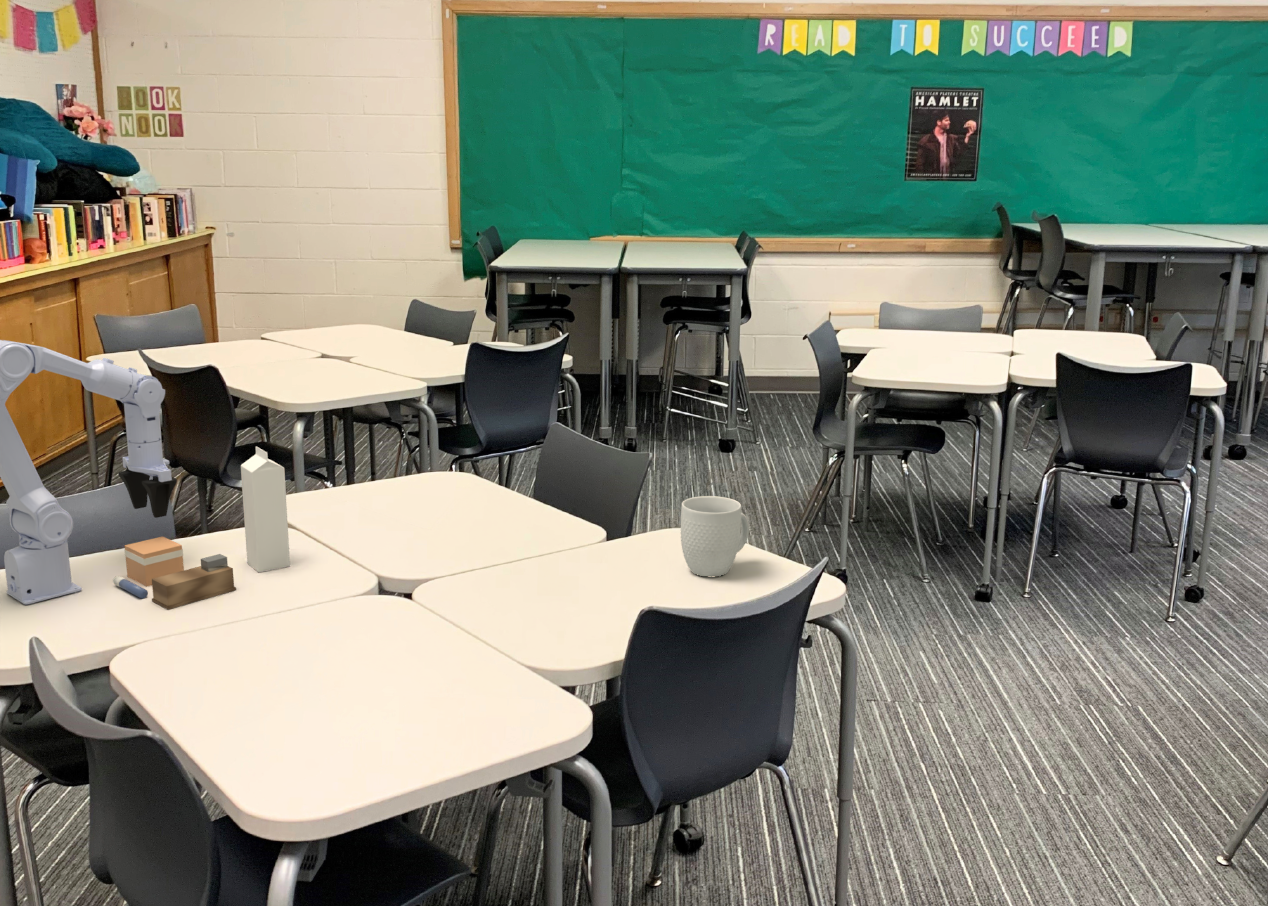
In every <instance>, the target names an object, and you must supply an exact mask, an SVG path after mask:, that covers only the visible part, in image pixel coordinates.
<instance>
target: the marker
mask: <svg viewBox="0 0 1268 906" xmlns="http://www.w3.org/2000/svg"><path fill="white" fill-rule="evenodd" d="M112 580H113V581H112V582H113V584H114V585H115V586H117V587H119V588H121V589H123V590H125V591H126V592H128V593H130V594H132V595H134V596H136V597H138V598H140V599H141V600H142V599H145V598H147V597H148V594H149V591H148V590H147V589H145V588H144V587H142V586H140V585H137V584H136V583H134V582H132V581H130V580H129V579H127V578H125V577H124V576H121V575H117V576H115V577H114V578H113V579H112Z"/></svg>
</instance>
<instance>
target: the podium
mask: <svg viewBox="0 0 1268 906" xmlns="http://www.w3.org/2000/svg"><path fill="white" fill-rule="evenodd" d="M151 586H152V597H153V598H151V602H152V603H155V604H156V605H158V606H160V607H162V608H164V609H165V610H168V611H169V610H172V609H175V608H179V607H182V606H186V605H190V604H192V603H196V602H199V601H203V600H206V599H210V598H213V597H216V596H220V595H223V594H228V593H231V592H234V591H236V590H237V587H236V586H235V579H234V569H233V567H230V566H229V565H228V567H226V568H222V569H218V570H214V571H211V572H207V571H205V570H203V569H201V565H199V566H196V567H191V568H188V569H184V571H180V572H176V573H172V574H169V575H165V576H161V577H157V578H154V579H152V585H151Z"/></svg>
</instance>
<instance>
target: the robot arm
mask: <svg viewBox="0 0 1268 906" xmlns="http://www.w3.org/2000/svg"><path fill="white" fill-rule="evenodd" d="M114 362H115V361H114V360H112V359H110V358H107V357H102V359H100V358H99V359H97V358H96V359H93V360H91V361H90V362H85V361H82V360H79V359H76V358H73V357H70V356H69V355H65V354H63V353H60V352H57V351H55V350H52V349H49V348H47V347H44V346H39V345H34V344H29V343H24V342H19V341H17V342H16V341H11V340H5V339H0V479H1V482H2V483H3V485H4V487H5V490H6V491H7V493H8V495H9V497H8V499H7V500H6V503H5V504H6V506H7V508H8V510H9V525H10V528H11V529H12V530H13V531H14V532H15V533H16V534H18V542H19V544H18V545H17V546H16V547H12V548H11V549H8V550H6V551H5V552H4V557H3V559H4V561H3V562H4V571H5V578H6V586H7V590H5V591H6V594H7V595H9V596H11V597H12V598H13V599H15V600H16V601H18V602H19V603H22V604H23V605H31V604H34V603H38V602H43V601H45V600H49V599H53V598H58V597H61V596H65V595H68V594H72V593H77V592H81V591H82V590H83V587H82V586H80V585H78V584H77V583H74V582H73V581H72V574H71V573H72V572H71V571H72V570H71V564H70V563H71V562H70V555H69V554H70V553H69V545H68V538H69V537H70V536H71V534H72V532H73V529H74V521H73V517H72V516H71V514H70V513H69V512H68V511H67V510H65V509H63V508H62V506H61V505H60V504H59V501H58V500H57V498H56V497H55V496H54V495H53V494H52V493H51V492H50V491H49V490H48V489H47V488H46V487H45V485H44V484H43V481H42V479H41V477H40V475H39V474H38V473H39V472H38V471H37V469H36V467H35V465H34V463H33V460H32V458H31V456H30V455H29V452H28V450H27V449H26V446H25V444H24V442H23V440H22V437H21V436H20V434H19V432H18V429H17V427H16V425H15V423H14V421H13V419H12V417H11V414H10V412H9V410H8V408H7V406H6V402H7V401H8V398H9V397H10V395H11V394H12V392H14V391H15V390H16V389H17V387H19V386H20V385H21V384H22V383H23V382H24V381H25V380H26V379H27V378H28V376H29V375H30V374H34V375H35V374H38V373H40V372H42V371H44V370H45V371H47V372H50V373H54V374H58V375H62V376H65V377H67V378H68V377H69V378H72V379H75V380H79V381H80V382H81V384H82V386H83V387H84V389H85V390H86V391H88V392H91V393H94V394H97V395H100V396H104V397H107V398H110V399H113V400H117V401H119V402H121V403H122V404H123V406H124V408H123V409H124V417H125V418H124V419H125V431H126V442H127V444H126V445H127V453H128V455H127V456H122V466H123V467H122V468H124V469H125V470H122V471H119V472H117V473H118V477H119V478H120V479H121V481H122V483H123V484H124V485H125V487H126V489H127V492H128V493H127V494H128V495H129V498H130V501H131V503H132V506H133V509H136V510H138V509H143V508H146V507H147V506H148V499H149V504H150V508H151V512H152V516H153V517H154V518H156V519H158V518H162V517H166V516H167V513H168V510H169V504H170V499H171V495H172V493H173V490H174V488H175V486H176V485H177V478H175V477H172V470H171V469H170V468H168V465H170V460H169V459H166V458H163V457H164V456H163V455H164V454H163V444H162V442H163V441H162V440H163V439H162V431H161V416H160V413H161V404H162V403H163V401H164V399H165V396H166V389H164V388H163V386H162V383H161V382H160V381H159V379H158V378H157V377H155V376H153V375H147V374H142V373H138V369H136V368H134V367H128V368H127V367H123V366H120V365H118V364H114ZM151 477H152V478H151ZM150 478H151V479H150Z"/></svg>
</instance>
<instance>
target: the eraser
mask: <svg viewBox="0 0 1268 906" xmlns="http://www.w3.org/2000/svg"><path fill="white" fill-rule="evenodd" d="M200 566H201V569H203V570H205V571H207V572H211V571H214V570H218V569H222V568H226V567H228V566H229V565H228V556H226V555H224V554H221V553H218V554H214V555H210V556H207V557H202V558H200Z"/></svg>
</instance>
